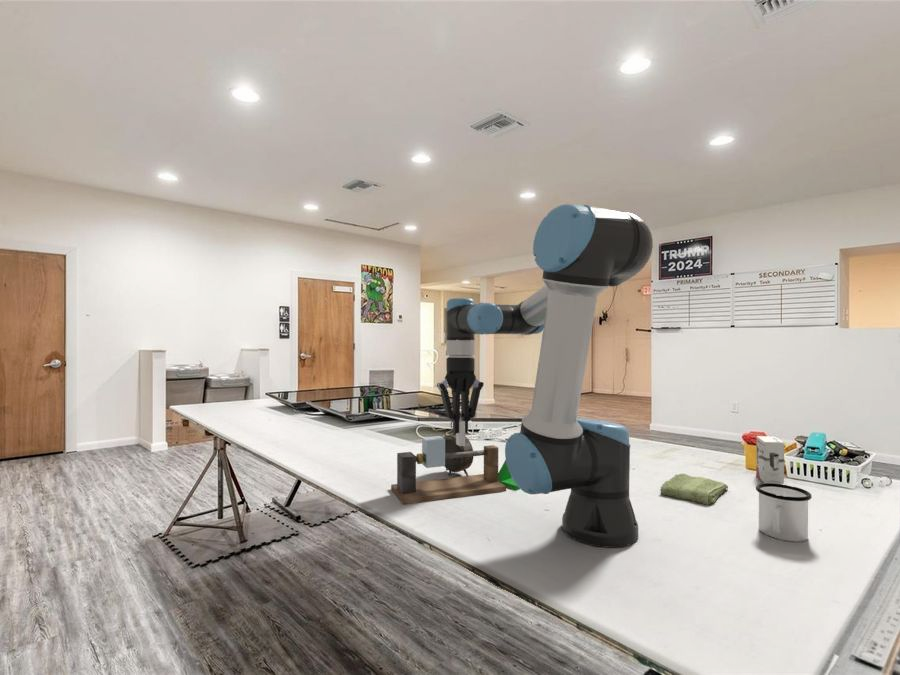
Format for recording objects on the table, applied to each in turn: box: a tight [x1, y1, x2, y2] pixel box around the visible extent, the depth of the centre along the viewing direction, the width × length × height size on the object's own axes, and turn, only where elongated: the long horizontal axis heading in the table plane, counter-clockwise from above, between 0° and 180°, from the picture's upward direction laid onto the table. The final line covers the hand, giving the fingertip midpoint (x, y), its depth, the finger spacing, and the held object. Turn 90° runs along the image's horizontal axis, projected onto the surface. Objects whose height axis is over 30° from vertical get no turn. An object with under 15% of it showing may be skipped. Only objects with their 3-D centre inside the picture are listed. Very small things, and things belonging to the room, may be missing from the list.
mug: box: [755, 482, 812, 543], centre depth 96 cm, size 12×10×9 cm
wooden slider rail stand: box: [390, 444, 507, 505], centre depth 124 cm, size 28×12×10 cm, turn 111°
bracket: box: [498, 459, 521, 491], centre depth 131 cm, size 12×8×7 cm, turn 134°
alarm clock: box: [442, 419, 475, 477], centre depth 138 cm, size 11×5×16 cm, turn 45°
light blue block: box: [421, 435, 445, 469], centre depth 123 cm, size 5×4×7 cm
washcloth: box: [659, 473, 729, 505], centre depth 124 cm, size 13×18×3 cm
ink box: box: [755, 435, 785, 485], centre depth 134 cm, size 9×5×12 cm, turn 161°
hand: (460, 444), depth 125 cm, fingers closed
